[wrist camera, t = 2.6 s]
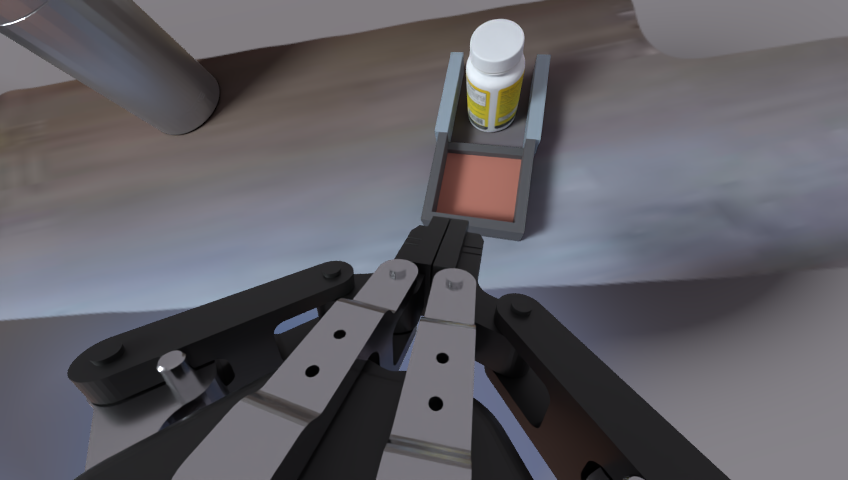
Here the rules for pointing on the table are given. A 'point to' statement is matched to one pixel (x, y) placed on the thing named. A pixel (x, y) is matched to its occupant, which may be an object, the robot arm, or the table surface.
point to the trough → (454, 87)
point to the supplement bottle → (495, 74)
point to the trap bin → (480, 186)
